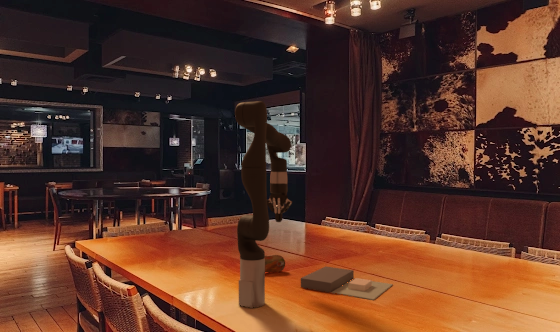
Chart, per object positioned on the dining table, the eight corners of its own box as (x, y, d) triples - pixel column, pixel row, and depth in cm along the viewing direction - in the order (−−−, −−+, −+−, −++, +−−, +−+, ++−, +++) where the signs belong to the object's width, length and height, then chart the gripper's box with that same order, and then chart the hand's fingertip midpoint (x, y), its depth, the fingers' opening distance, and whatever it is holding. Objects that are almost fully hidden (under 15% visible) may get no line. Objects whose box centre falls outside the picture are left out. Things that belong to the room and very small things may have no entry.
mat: (373, 300, 164) (373, 299, 164) (331, 292, 174) (331, 291, 174) (392, 285, 185) (392, 284, 185) (354, 279, 194) (354, 278, 194)
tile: (348, 282, 178) (348, 288, 178) (364, 285, 174) (364, 291, 174) (356, 278, 186) (356, 283, 186) (371, 280, 182) (371, 285, 182)
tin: (254, 274, 203) (254, 256, 203) (253, 272, 206) (253, 255, 206) (285, 272, 207) (285, 254, 207) (283, 270, 210) (283, 253, 210)
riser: (330, 292, 174) (330, 282, 174) (300, 287, 181) (300, 278, 181) (353, 279, 194) (353, 270, 194) (325, 274, 202) (325, 266, 201)
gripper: (261, 182, 187) (261, 221, 187) (287, 183, 180) (287, 224, 180) (270, 181, 193) (270, 219, 193) (296, 182, 186) (296, 222, 186)
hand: (278, 221), depth 187 cm, fingers closed
